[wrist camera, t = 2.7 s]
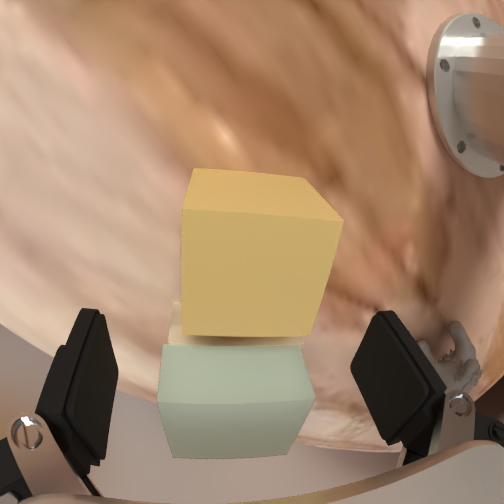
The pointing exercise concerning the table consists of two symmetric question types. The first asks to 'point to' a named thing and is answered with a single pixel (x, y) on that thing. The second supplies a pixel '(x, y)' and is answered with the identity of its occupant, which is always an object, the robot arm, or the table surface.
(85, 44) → the table surface
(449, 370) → the gray elephant figurine
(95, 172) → the table surface
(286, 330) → the block
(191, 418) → the pale green square block
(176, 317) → the tower base
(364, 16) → the table surface
